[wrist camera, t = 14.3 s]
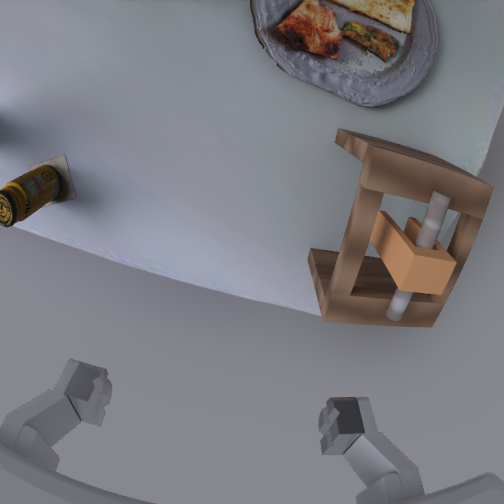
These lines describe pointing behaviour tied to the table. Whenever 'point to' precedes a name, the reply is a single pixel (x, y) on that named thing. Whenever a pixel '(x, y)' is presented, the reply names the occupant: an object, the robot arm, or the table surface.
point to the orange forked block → (411, 256)
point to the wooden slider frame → (440, 199)
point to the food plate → (349, 43)
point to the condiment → (35, 190)
